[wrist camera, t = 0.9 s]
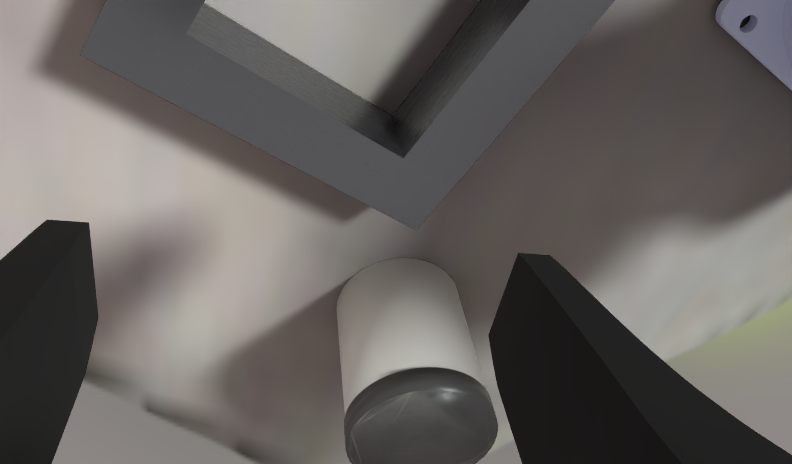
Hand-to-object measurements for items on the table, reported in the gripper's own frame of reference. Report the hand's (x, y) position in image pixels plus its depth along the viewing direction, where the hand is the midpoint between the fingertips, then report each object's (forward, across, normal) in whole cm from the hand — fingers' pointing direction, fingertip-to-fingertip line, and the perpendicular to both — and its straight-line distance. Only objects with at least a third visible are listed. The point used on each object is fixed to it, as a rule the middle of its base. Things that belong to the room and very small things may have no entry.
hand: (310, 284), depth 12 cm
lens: (+10, -4, +9) cm, 14 cm away
